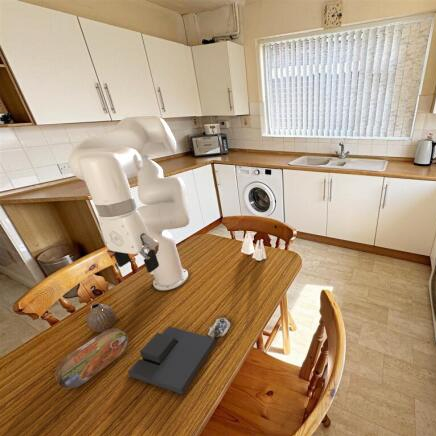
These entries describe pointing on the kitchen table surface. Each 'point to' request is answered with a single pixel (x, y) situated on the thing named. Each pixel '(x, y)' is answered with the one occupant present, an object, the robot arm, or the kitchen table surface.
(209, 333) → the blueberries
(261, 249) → the shaker set
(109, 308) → the vase
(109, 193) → the robot arm
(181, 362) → the charcoal pad
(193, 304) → the kitchen table surface
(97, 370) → the tin
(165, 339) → the dark grey squat block
